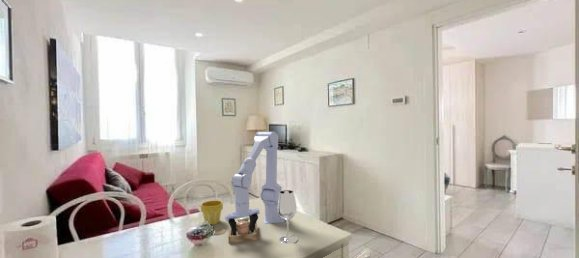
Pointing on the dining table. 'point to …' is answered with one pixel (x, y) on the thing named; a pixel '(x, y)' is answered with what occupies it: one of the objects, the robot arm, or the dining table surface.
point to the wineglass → (287, 212)
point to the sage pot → (243, 219)
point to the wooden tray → (243, 235)
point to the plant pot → (212, 211)
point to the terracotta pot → (243, 227)
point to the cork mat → (219, 231)
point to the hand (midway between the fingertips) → (243, 233)
